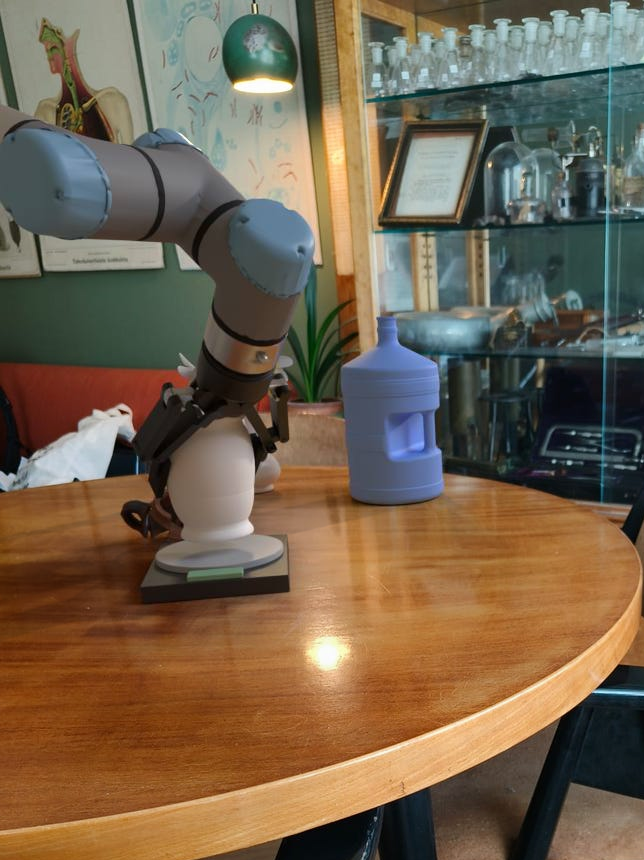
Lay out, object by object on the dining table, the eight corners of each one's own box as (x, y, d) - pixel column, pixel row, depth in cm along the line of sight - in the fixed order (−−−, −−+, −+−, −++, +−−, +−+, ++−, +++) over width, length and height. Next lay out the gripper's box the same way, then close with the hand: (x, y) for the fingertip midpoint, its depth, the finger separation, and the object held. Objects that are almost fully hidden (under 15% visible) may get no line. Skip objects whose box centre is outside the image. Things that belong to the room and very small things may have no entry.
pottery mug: (209, 531, 129) (217, 487, 124) (206, 575, 123) (214, 530, 117) (121, 518, 125) (125, 471, 119) (114, 563, 119) (117, 516, 113)
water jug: (332, 503, 143) (316, 319, 133) (377, 484, 156) (365, 316, 146) (420, 508, 137) (410, 317, 127) (458, 488, 151) (452, 314, 141)
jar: (177, 551, 100) (156, 416, 95) (167, 531, 109) (148, 407, 104) (270, 539, 104) (255, 409, 99) (254, 521, 113) (239, 400, 108)
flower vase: (200, 487, 158) (179, 339, 149) (305, 480, 161) (290, 335, 152) (192, 502, 146) (169, 343, 137) (305, 495, 149) (290, 339, 140)
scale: (142, 604, 97) (138, 580, 96) (163, 558, 115) (160, 537, 114) (290, 591, 100) (287, 567, 99) (288, 548, 118) (286, 527, 117)
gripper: (140, 388, 82) (115, 523, 99) (354, 370, 95) (300, 492, 112) (112, 327, 84) (92, 470, 101) (325, 318, 97) (276, 446, 114)
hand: (201, 482), depth 107 cm, fingers closed on jar, 11 cm apart
